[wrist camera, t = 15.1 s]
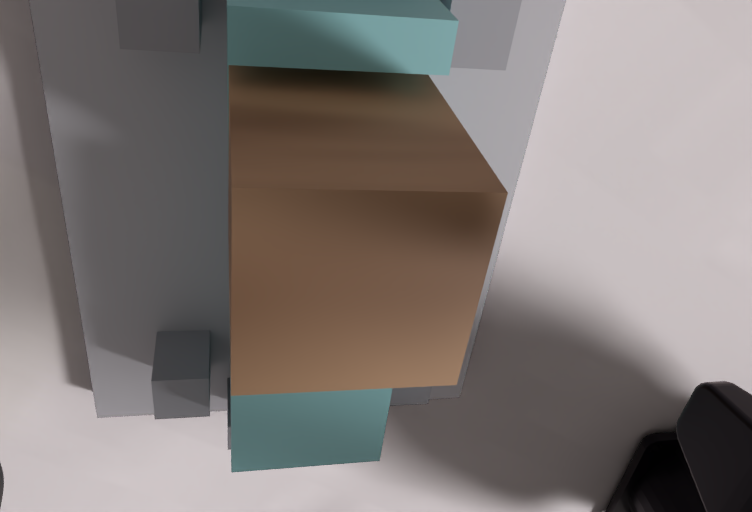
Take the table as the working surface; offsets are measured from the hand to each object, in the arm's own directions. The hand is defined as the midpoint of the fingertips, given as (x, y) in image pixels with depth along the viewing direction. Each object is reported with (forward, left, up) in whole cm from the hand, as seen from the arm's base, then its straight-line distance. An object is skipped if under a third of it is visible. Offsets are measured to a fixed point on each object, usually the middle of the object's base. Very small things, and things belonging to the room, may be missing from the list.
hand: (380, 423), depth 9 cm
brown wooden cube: (0, 0, -8) cm, 8 cm away
